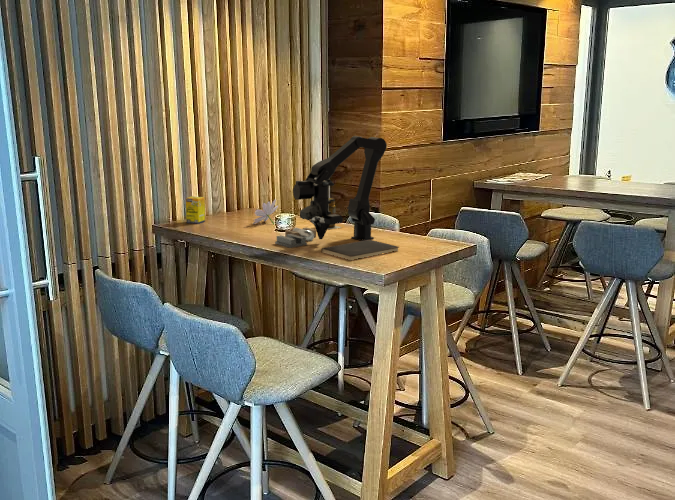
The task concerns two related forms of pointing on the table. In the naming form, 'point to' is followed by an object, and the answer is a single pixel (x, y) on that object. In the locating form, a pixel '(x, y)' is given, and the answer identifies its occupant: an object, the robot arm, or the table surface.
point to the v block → (290, 241)
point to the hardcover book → (359, 249)
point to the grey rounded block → (298, 232)
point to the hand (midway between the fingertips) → (320, 239)
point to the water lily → (265, 212)
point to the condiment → (332, 212)
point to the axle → (305, 234)
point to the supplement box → (195, 210)
